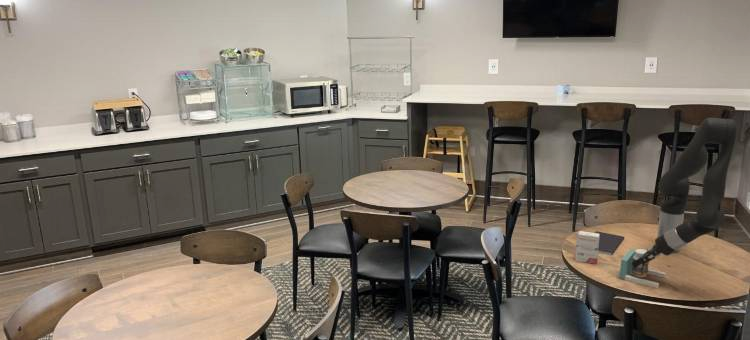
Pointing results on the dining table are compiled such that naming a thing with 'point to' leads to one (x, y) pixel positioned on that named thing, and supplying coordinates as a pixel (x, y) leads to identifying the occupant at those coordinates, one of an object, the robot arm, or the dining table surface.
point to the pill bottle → (641, 269)
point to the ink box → (587, 247)
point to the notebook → (609, 242)
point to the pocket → (627, 268)
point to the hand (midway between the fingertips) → (635, 262)
